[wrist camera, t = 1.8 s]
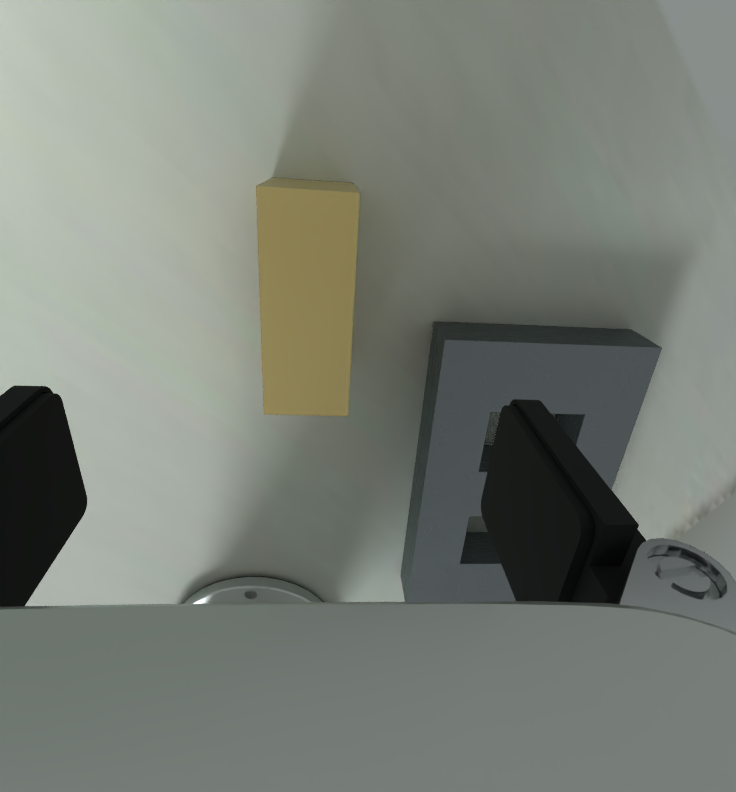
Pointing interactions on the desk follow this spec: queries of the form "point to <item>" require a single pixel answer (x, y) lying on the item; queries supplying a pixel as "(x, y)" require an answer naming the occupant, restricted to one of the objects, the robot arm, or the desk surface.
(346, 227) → the yellow u-shaped block
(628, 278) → the desk surface
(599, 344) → the grey slotted board
